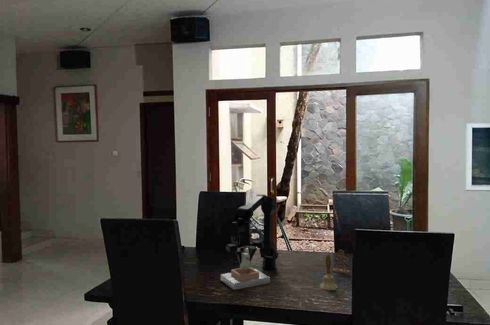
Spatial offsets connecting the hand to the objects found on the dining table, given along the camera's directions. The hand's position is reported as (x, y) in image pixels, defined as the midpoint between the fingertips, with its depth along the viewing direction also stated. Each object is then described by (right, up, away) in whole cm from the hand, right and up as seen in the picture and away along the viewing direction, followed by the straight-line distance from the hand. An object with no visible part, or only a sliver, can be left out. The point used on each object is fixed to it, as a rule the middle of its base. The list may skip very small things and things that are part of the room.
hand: (244, 262), depth 206 cm
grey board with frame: (0, -10, 0) cm, 10 cm away
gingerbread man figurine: (+52, -9, +14) cm, 55 cm away
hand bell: (+41, -10, -9) cm, 43 cm away
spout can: (0, -3, 0) cm, 3 cm away
